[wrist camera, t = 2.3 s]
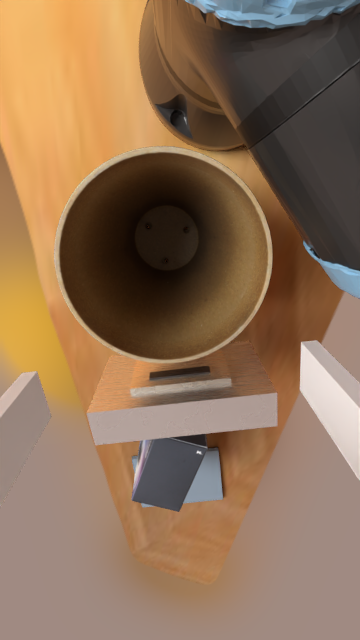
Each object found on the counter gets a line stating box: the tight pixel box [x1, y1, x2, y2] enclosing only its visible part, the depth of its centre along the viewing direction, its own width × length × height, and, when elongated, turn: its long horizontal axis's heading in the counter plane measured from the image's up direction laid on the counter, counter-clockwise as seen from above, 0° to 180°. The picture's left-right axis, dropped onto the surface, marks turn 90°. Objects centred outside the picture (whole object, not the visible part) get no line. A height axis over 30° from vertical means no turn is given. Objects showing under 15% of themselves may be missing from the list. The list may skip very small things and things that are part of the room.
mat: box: [132, 448, 223, 507], centre depth 49 cm, size 10×13×1 cm
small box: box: [132, 434, 208, 512], centre depth 41 cm, size 11×6×10 cm, turn 162°
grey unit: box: [87, 336, 277, 445], centre depth 32 cm, size 4×14×18 cm, turn 97°
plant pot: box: [54, 146, 273, 363], centre depth 29 cm, size 15×15×16 cm
